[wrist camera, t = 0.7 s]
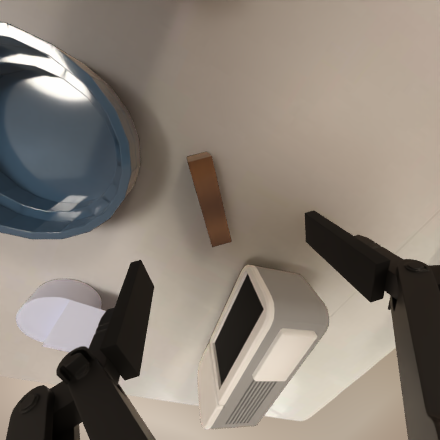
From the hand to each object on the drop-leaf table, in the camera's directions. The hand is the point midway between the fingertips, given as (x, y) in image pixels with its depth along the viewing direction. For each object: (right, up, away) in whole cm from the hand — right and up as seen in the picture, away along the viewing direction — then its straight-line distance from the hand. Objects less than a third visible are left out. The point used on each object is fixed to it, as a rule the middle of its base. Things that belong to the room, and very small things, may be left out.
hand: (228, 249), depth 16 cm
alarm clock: (+3, -16, +23) cm, 28 cm away
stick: (-2, +6, +11) cm, 13 cm away
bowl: (-18, +11, +6) cm, 22 cm away
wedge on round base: (-22, -11, +16) cm, 29 cm away
